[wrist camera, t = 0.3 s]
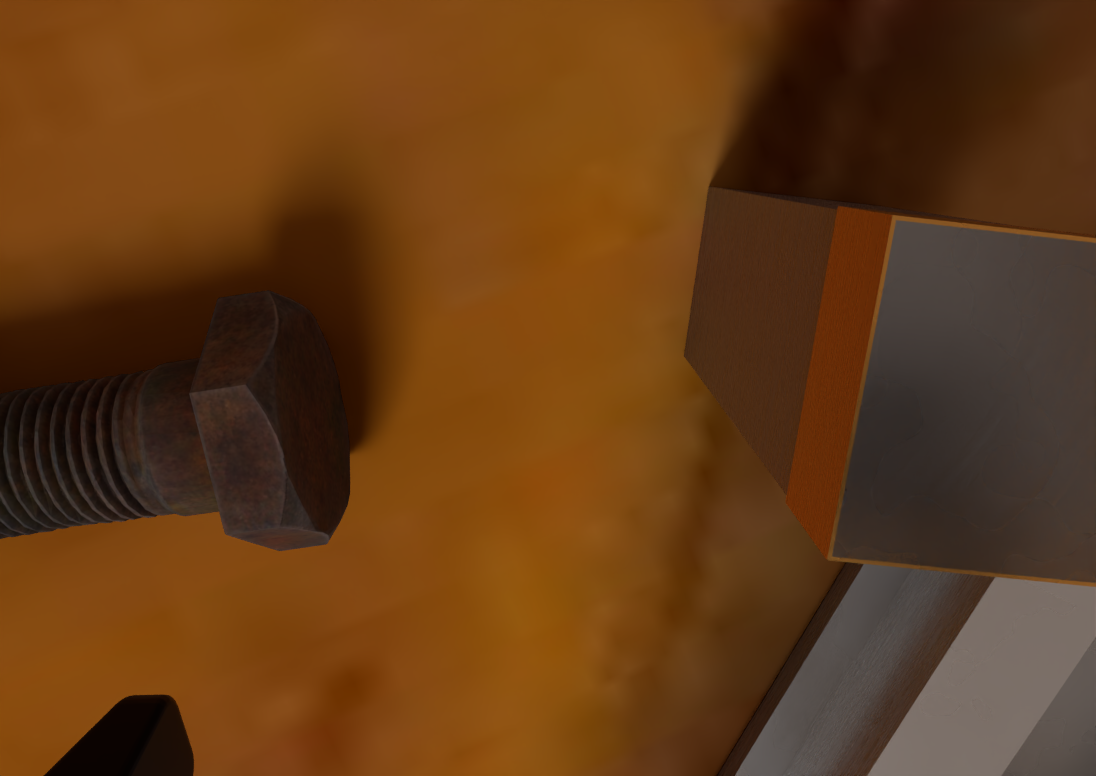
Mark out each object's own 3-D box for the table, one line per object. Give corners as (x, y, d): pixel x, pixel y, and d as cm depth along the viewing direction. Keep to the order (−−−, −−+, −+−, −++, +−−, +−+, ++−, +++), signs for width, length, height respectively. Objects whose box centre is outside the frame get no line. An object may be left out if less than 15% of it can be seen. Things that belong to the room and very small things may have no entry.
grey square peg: (849, 375, 24) (1159, 594, 12) (681, 357, 23) (826, 560, 12) (882, 203, 23) (1252, 256, 11) (706, 183, 22) (892, 215, 11)
